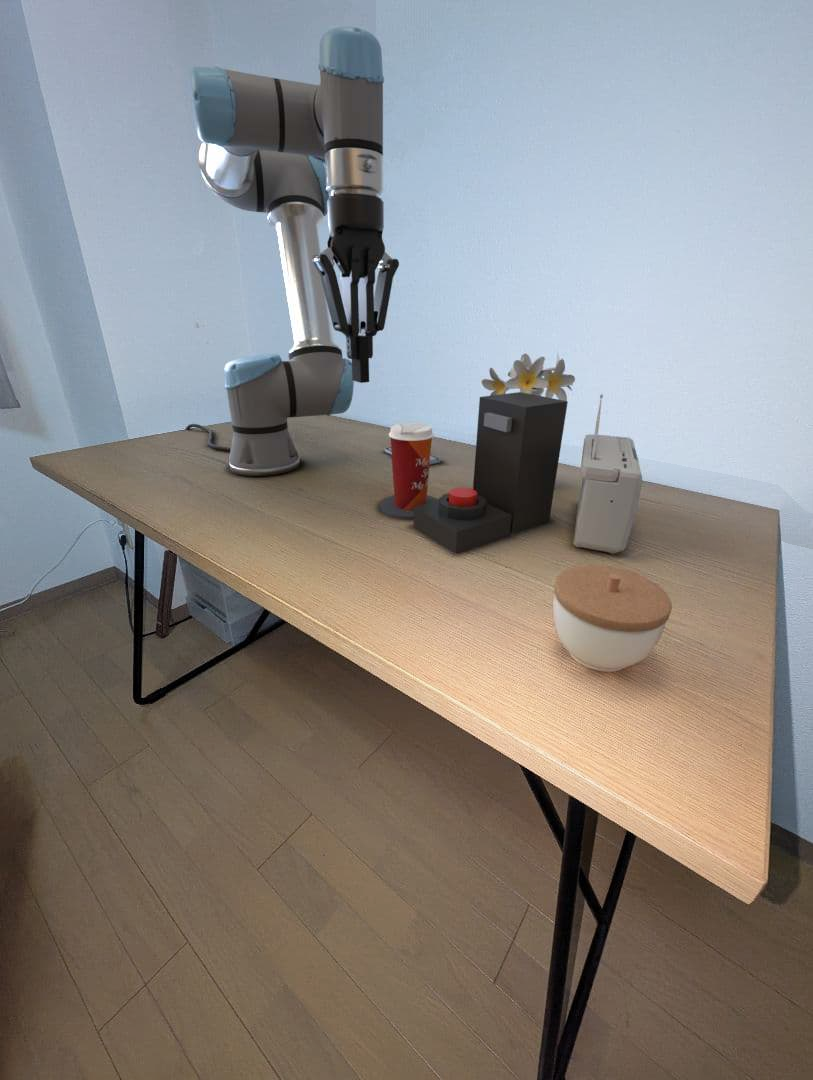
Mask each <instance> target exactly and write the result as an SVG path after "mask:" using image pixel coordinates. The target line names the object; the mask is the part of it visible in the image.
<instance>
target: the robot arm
mask: <svg viewBox="0 0 813 1080" xmlns="http://www.w3.org/2000/svg"><path fill="white" fill-rule="evenodd" d="M382 53H383V52H382V46H381V44H380V42H379V40H378V38H377V37H376V36H375V35H374V34H373V33H371V32H370V31H368V30H365V29H363V28H359V27H354V26H338V27H337V26H336V27H333V28H330V29H328V30H327V31H326V32H324V33H323V34H322V36H321V38H320V40H319V61H318V70H319V76H320V82H319V84H314V83H309V82H308V83H306V82H303V81H302V82H301V81H296V80H289V79H282V78H275V77H269V76H264V75H259V74H253V73H247V72H242V71H237V70H230V69H226V68H222V67H220V66H213V67H211V66H210V67H208V66H192V67H191V69H190V70H189V73H188V81H189V90H190V99H191V106H192V112H193V113H192V114H193V119H194V124H195V130H196V133H197V137H198V138H199V140H200V141H201V142H202V143H201V145H200V147H199V151H198V166H199V171H200V175H201V177H202V179H203V181H204V183H205V184H206V186H207V187H208V189H209V190H210V191H211V192H212V193H213V194H214V195H215V196H216V197H218V198H219V199H221V200H222V202H223V201H224V202H225V203H226V204H229V205H231V206H233V207H235V208H237V209H240V210H243V211H246V212H252V213H263V214H266V215H267V220H268V224H269V226H271V228H272V229H273V230H275V231H276V233H277V237H278V244H279V245H278V246H279V251H280V258H281V265H282V272H283V279H284V284H285V293H286V298H287V305H288V306H287V307H288V313H289V320H290V327H291V333H292V341H293V346H292V348H291V349H290V350H289V351H288V360H282V357H281V356H280V354H278V353H267V354H258V355H257V354H255V355H251V356H246V357H240V358H237V359H233V360H230V361H229V362H227V363H226V364H225V366H224V369H223V374H224V383H225V384H224V389H225V390H226V394H227V401H228V408H229V416H230V422H231V427H232V440H231V445H230V446H231V447H228V446H221V445H217V444H214V443H212V442H213V438H214V437H213V434H214V433H213V430H212V429H211V428H209V427H206V426H204V425H202V424H198V423H190V424H187V426H186V427H185V430H187V431H188V430H191V428H198V429H201V430H203V431H205V432H208V440H207V445H208V446H209V447H210V448H212V449H214V450H219V451H225V452H229V456H228V457H229V458H228V464H229V470H230V472H232V473H234V474H237V475H240V476H246V477H268V476H269V477H270V476H275V475H281V474H284V473H285V474H286V473H288V472H292V471H294V470H296V469H297V468H299V466H300V463H301V462H300V453H299V450H297V448H296V445H295V443H294V440H293V439H292V437H291V434H290V431H289V425H288V419H289V418H302V417H304V418H305V417H316V416H317V417H319V416H327V417H329V416H331V415H332V416H333V415H339V414H340V415H341V414H344V413H346V412H347V411H348V410H349V409H350V407H351V404H352V401H353V396H354V387H355V385H354V384H355V382H357V383H360V384H363V383H364V384H365V383H370V359H372V358H373V356H374V337H375V336H376V335H377V334H378V332H381V331H383V330H385V325H386V319H387V316H388V315H387V314H388V309H389V304H390V297H391V292H392V286H393V281H394V276H395V274H396V272H397V270H398V268H399V266H400V262H399V259H397V258H392V257H391V256H390V255H389V254H388V253H387V252H386V246H385V243H384V240H383V232H384V228H385V227H384V226H385V225H384V224H385V223H384V221H385V219H384V218H385V217H384V216H385V214H384V211H385V209H384V207H385V206H384V201H383V199H382V198H381V197H380V196H381V195H382V194H383V193H384V82H385V77H384V70H383V54H382ZM326 216H327V223H328V224H327V225H328V226H327V227H328V230H329V231H328V232H329V236H328V240H327V242H326V248H325V249H324V250H323V251H322V248H321V242H320V234H319V229H320V228H321V226H322V225H323V224H324V220H325V219H324V217H326ZM335 264H336V267H337V268H338V270H339V275H340V277H339V278H340V283H341V285H342V294H341V290H340V285H339V281H338V277H337V274H336V270H335V267H334V266H335ZM377 268H378V270H379V271H378V273H377V277H376V270H377ZM374 285H375V286H374ZM374 287H375V288H374ZM333 330H334V331H336V332H339V333H342V334H343V335H344V337H345V339H346V340H345V343H346V344H345V346H346V356H347V358H346V357H345V358H343V350H342V348H341V347H340V346H339V345H337V344H336V343H335V342H334V335H333Z"/></svg>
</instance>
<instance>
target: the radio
mask: <svg viewBox="0 0 813 1080" xmlns="http://www.w3.org/2000/svg"><path fill="white" fill-rule="evenodd" d="M599 398H600V400H599V405H598V411H597V416H596V421H595V429H594V434H591V433H589V434H585V436H584V439H583V445H582V453H581V463H580V469H579V473H580V474H579V475H580V478H581V484H580V490H579V496H578V501H577V509H576V510H577V511H576V519H575V528H574V536H573V546H574V547H576V548H584V549H588V550H594V551H599V552H606V553H609V554H612V555H613V554H617V553H618V552H623V551H624V550H625V549H626V548H627V544H628V541H629V539H630V535H631V531H632V528H633V525H634V521H635V516H636V513H637V509H638V506H639V501H640V496H641V490H642V485H643V475H642V470H641V466H640V463H639V462H640V461H639V459H638V454H637V450H636V446H635V443H634V439H632V438H631V437H627V436H615V435H614V436H613V435H608V434H607V435H604V434H599V429H600V419H601V410H602V399H603V398H604V394H603V393H602V394H600V395H599Z"/></svg>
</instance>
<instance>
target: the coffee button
mask: <svg viewBox="0 0 813 1080" xmlns="http://www.w3.org/2000/svg"><path fill="white" fill-rule="evenodd" d="M448 493H449V503H450V504H452V505H457V506H472V505H476V504H477V491H475V490H473V488H470V487H453V488H451V489H450V490H449V492H448Z"/></svg>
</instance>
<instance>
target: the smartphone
mask: <svg viewBox="0 0 813 1080" xmlns="http://www.w3.org/2000/svg"><path fill="white" fill-rule="evenodd" d="M384 452H385V453H387V454H389V455H390V456H392V453H391V446H387V447H384ZM439 463H441V458H440V457H438V456H436V455H433V454H432V453H431V454H430V465H434V464H439Z"/></svg>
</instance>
